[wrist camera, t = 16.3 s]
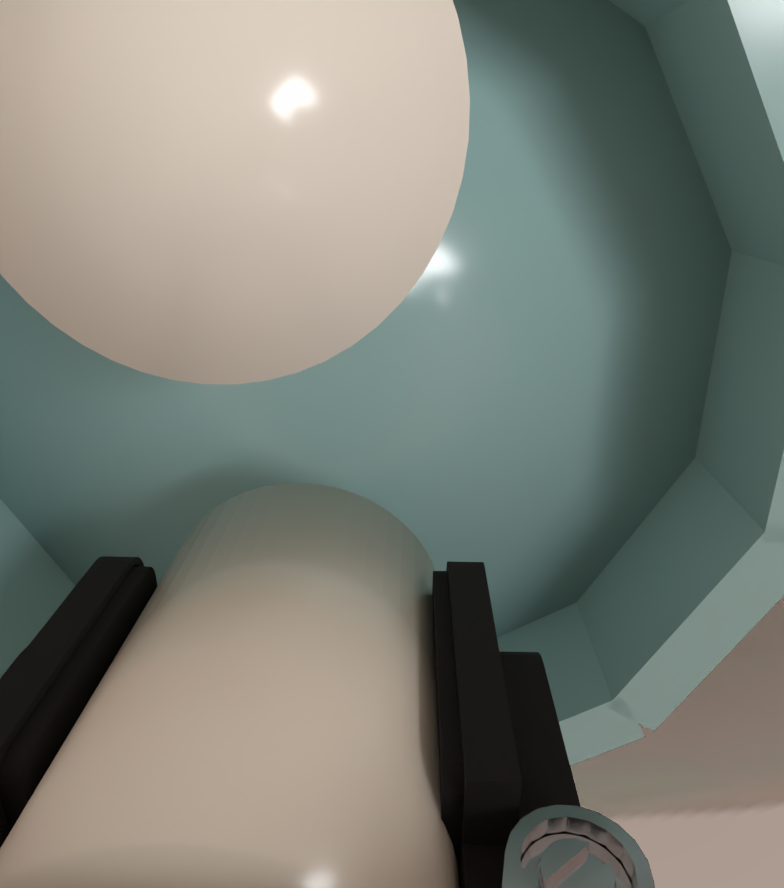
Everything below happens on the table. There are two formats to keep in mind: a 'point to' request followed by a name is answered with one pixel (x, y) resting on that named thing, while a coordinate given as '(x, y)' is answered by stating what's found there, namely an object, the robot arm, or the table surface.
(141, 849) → the pebble
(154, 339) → the cream egg
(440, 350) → the bowl
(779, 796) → the table surface
